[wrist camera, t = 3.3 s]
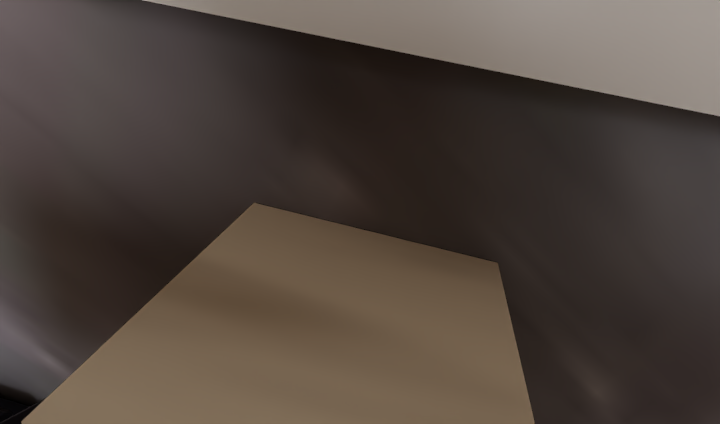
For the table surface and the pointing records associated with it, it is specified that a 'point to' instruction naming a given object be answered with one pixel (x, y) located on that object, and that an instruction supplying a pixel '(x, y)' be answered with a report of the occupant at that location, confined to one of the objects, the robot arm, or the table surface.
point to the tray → (527, 38)
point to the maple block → (308, 337)
